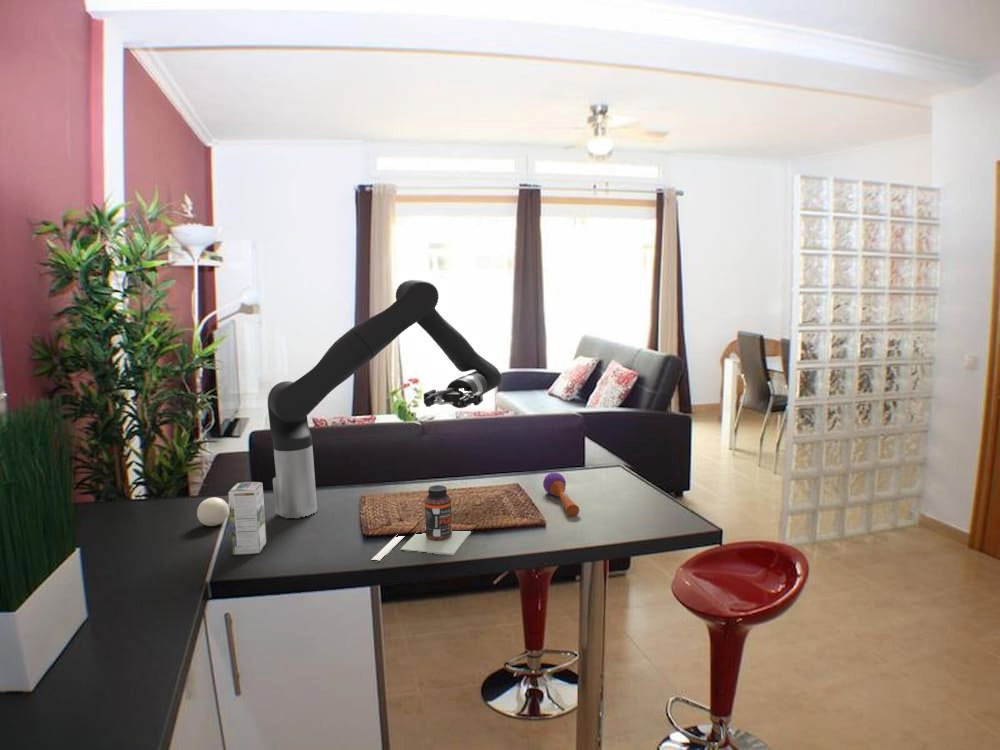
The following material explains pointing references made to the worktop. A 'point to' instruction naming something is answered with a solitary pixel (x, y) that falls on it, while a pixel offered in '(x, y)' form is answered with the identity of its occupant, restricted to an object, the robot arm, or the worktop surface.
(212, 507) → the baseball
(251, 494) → the syrup box
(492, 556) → the worktop surface
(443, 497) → the supplement bottle
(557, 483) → the purple and orange maraca
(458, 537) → the mat
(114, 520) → the worktop surface
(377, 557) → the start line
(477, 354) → the robot arm
